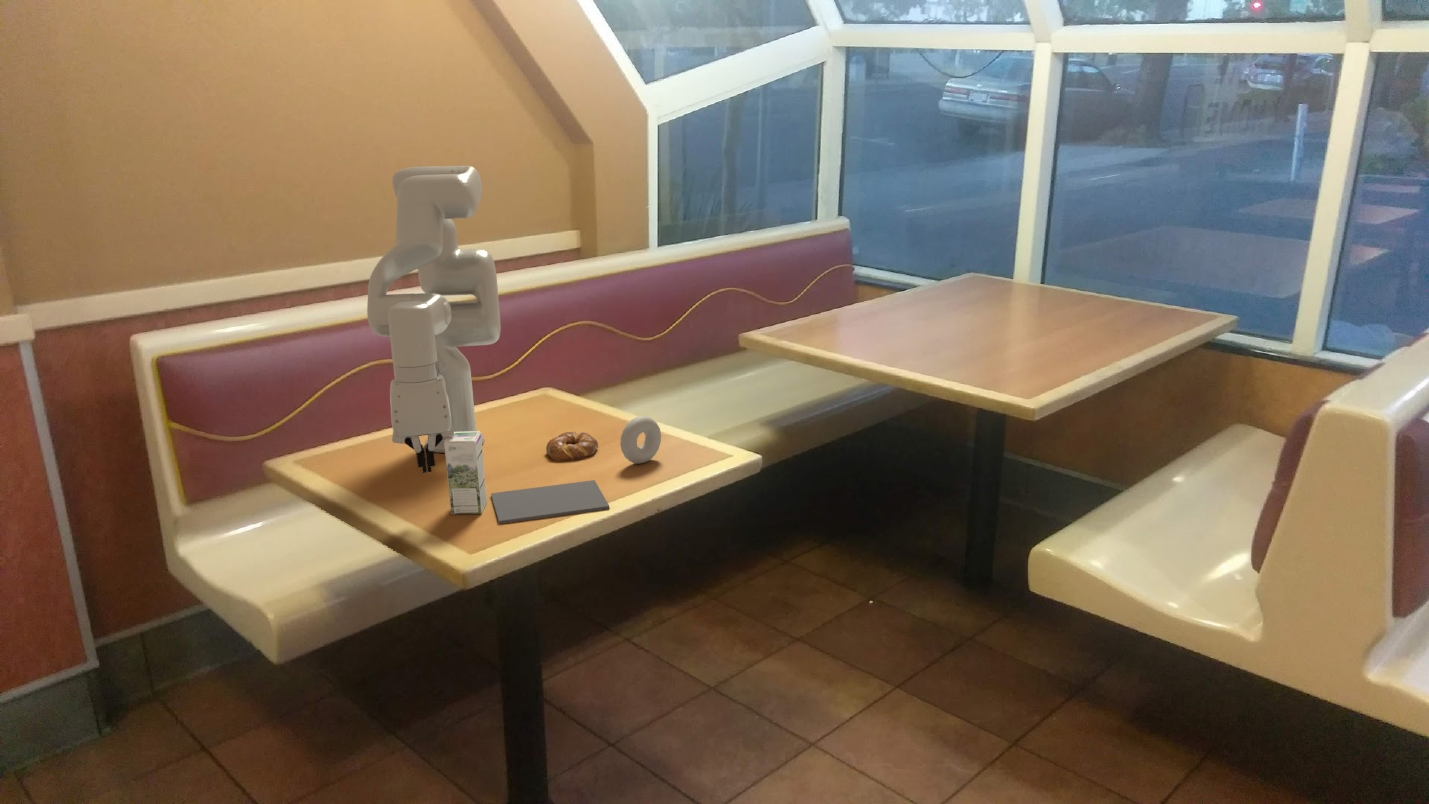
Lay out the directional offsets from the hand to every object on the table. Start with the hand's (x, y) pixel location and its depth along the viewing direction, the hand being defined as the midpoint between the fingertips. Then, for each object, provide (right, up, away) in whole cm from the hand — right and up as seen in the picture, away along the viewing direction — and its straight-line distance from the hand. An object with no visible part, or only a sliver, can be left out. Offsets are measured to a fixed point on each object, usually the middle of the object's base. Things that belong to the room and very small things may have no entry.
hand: (427, 470), depth 182 cm
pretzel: (+22, +1, +34) cm, 40 cm away
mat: (+21, -7, +7) cm, 23 cm away
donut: (+37, 0, +27) cm, 46 cm away
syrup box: (+7, -8, +4) cm, 11 cm away
